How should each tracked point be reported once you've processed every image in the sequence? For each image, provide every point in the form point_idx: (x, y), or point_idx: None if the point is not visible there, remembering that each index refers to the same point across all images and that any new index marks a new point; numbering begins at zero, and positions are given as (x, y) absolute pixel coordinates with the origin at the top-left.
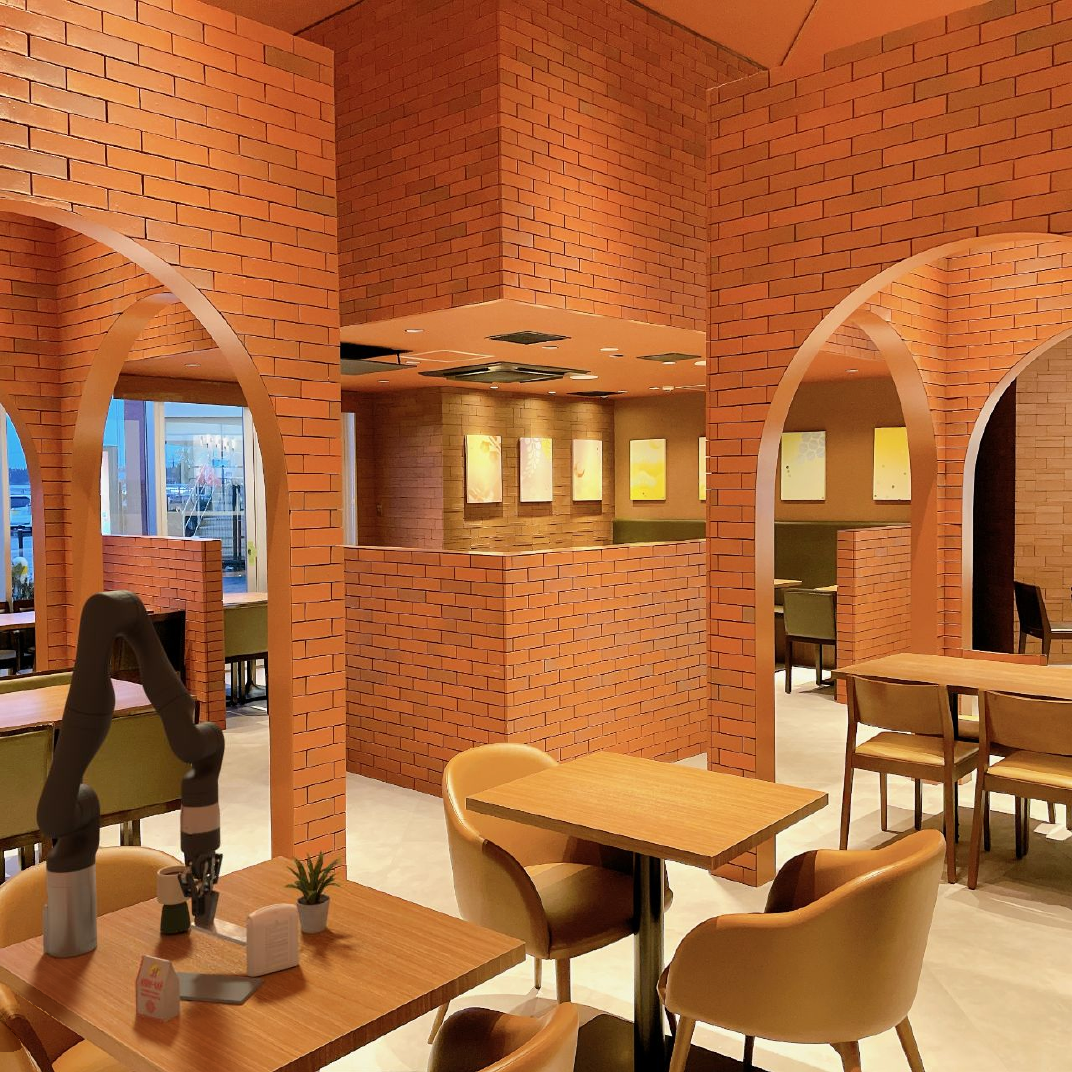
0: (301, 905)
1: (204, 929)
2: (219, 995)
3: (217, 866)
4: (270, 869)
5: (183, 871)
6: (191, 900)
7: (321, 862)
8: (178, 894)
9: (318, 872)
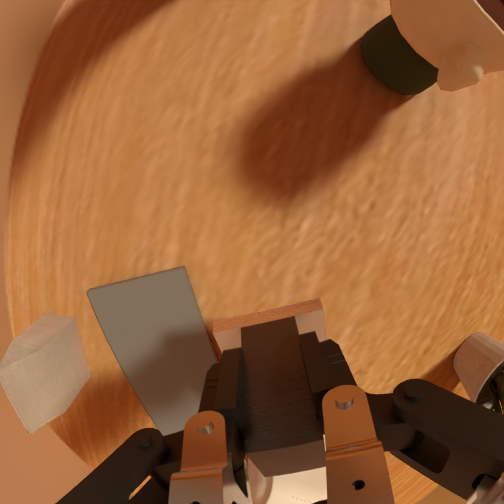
0: (479, 388)
1: None
2: (156, 409)
3: (457, 491)
4: None
5: None
6: (198, 412)
7: None
8: (441, 49)
9: None
